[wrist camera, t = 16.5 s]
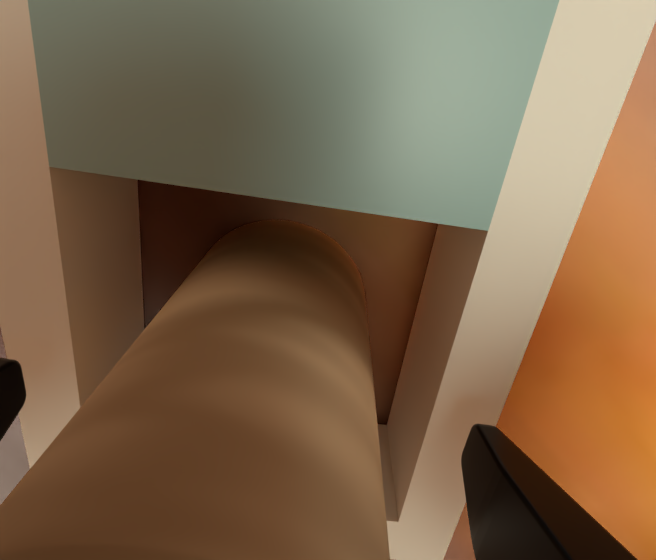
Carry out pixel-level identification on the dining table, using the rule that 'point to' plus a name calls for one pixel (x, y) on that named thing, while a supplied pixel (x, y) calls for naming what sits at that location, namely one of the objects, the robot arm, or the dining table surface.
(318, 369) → the wooden peg
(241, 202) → the dining table surface
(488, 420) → the housing
